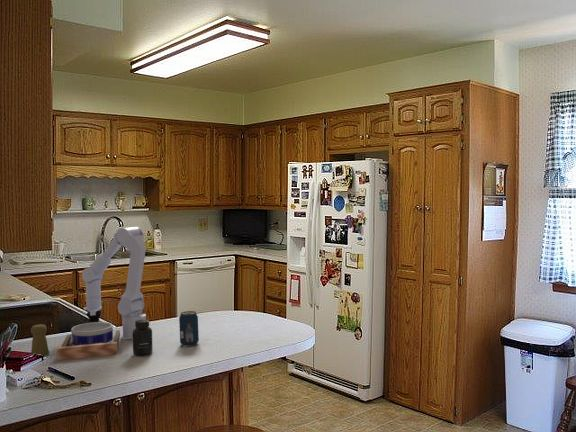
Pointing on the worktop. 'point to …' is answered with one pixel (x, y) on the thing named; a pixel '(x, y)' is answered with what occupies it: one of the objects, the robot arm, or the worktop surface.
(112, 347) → the wooden tray
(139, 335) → the supplement bottle
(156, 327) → the worktop surface
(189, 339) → the soda can
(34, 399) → the worktop surface
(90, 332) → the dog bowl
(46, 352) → the cork
